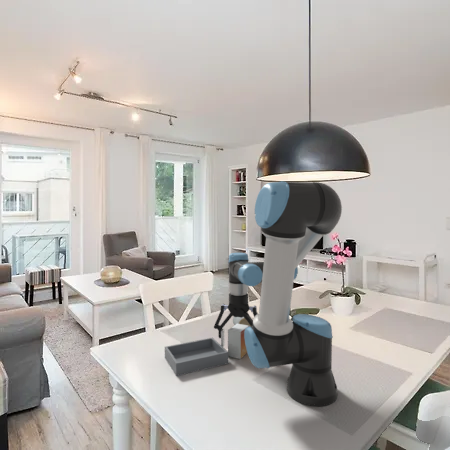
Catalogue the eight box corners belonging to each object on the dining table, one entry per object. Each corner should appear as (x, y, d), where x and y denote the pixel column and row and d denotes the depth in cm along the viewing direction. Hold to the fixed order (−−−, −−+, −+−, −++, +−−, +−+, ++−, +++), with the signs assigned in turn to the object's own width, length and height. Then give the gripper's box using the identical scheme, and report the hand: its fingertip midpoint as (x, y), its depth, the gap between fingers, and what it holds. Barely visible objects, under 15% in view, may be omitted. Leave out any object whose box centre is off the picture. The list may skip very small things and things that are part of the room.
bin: (228, 363, 119) (228, 352, 119) (176, 375, 111) (176, 363, 110) (212, 347, 132) (212, 337, 132) (164, 357, 124) (164, 346, 124)
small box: (240, 359, 122) (240, 332, 121) (227, 356, 125) (227, 329, 124) (249, 351, 129) (249, 325, 128) (237, 348, 132) (236, 322, 131)
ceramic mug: (238, 334, 146) (238, 317, 146) (232, 327, 154) (232, 312, 154) (260, 331, 149) (260, 315, 149) (253, 325, 157) (253, 310, 157)
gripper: (270, 291, 127) (270, 345, 128) (210, 289, 132) (210, 341, 133) (269, 297, 119) (269, 354, 121) (205, 293, 124) (206, 348, 126)
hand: (238, 347), depth 127 cm, fingers open, 12 cm apart
